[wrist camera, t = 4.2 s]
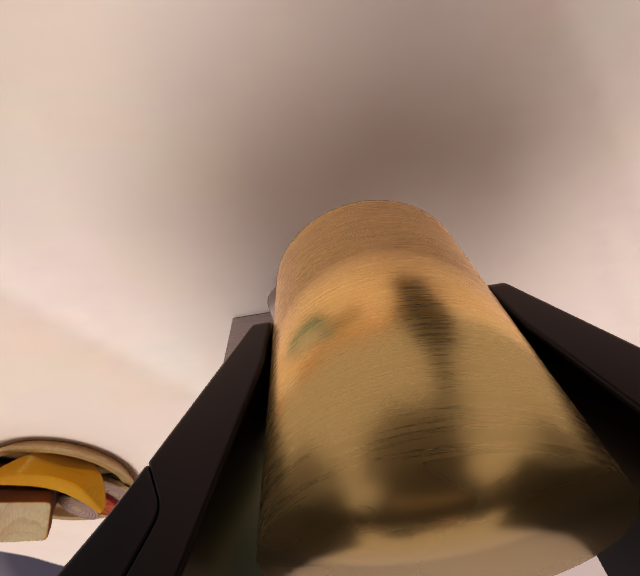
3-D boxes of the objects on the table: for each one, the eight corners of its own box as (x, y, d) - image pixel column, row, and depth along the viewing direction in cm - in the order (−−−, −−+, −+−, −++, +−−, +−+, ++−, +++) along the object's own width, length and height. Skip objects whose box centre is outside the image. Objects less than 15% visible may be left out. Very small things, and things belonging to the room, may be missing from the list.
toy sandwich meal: (119, 515, 37) (99, 573, 33) (-39, 486, 32) (-85, 549, 28) (160, 457, 31) (141, 518, 27) (-26, 410, 26) (-82, 477, 22)
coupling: (465, 182, 7) (718, 420, 3) (454, 336, 10) (581, 587, 6) (255, 220, 8) (196, 493, 3) (297, 361, 10) (298, 620, 6)
